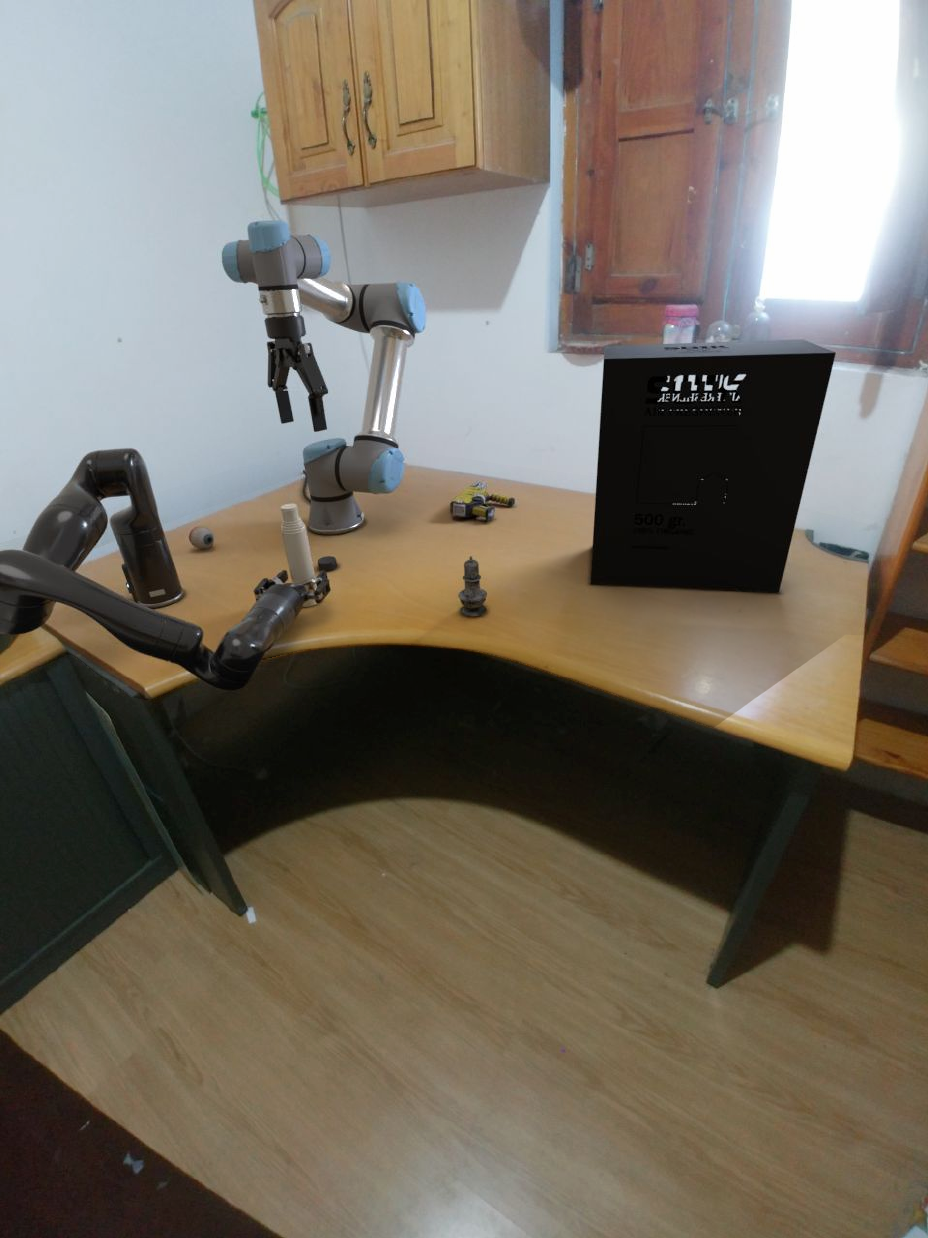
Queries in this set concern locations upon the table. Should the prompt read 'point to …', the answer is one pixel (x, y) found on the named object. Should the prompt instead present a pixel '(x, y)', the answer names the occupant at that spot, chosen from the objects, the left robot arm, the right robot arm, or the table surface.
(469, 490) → the toy gun
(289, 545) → the bottle
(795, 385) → the cardboard box
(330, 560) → the cap
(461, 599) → the dark grey tall piece
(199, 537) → the eyeball
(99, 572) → the table surface
